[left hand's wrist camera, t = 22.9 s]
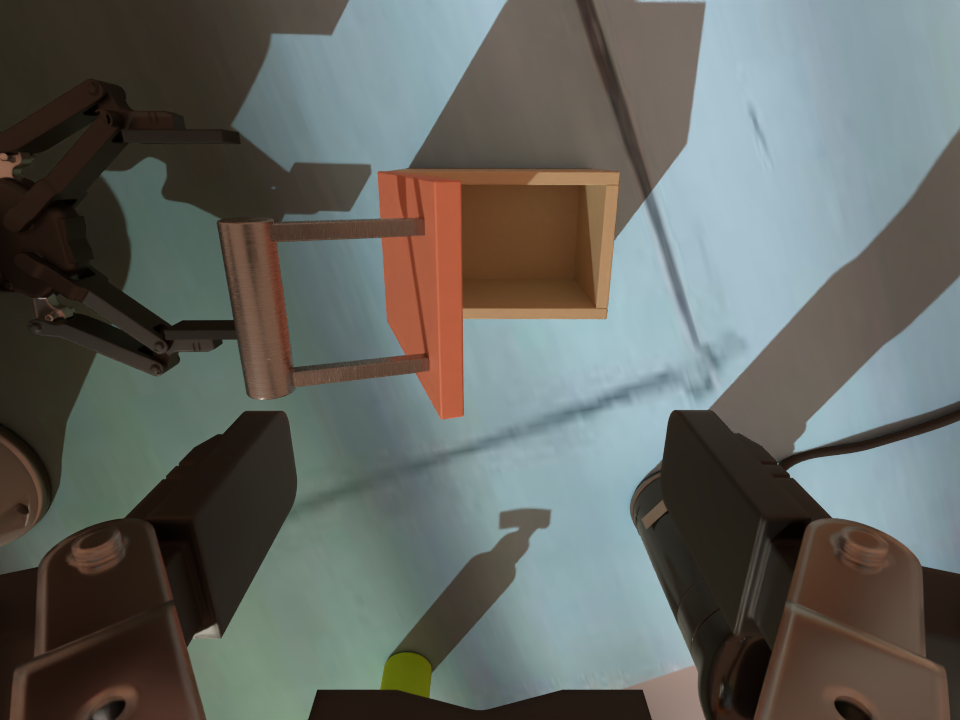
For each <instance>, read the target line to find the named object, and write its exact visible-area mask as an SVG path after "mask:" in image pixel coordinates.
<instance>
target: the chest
mask: <svg viewBox="0 0 960 720" xmlns="http://www.w3.org/2000/svg"><path fill="white" fill-rule="evenodd" d="M393 171H395V172H402V173H410V174H417V175H425V176H432V177H439V178H447V179H454V180H460V181H461V199H462V296H463V319H606V318H607V308H608V299H609V289H610V278H611V267H612V256H613V245H614V235H615V224H616V213H617V202H618V191H619V179H620V172H618V171H607V170H596V169H528V168H406V169H401V170H393Z"/></svg>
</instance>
